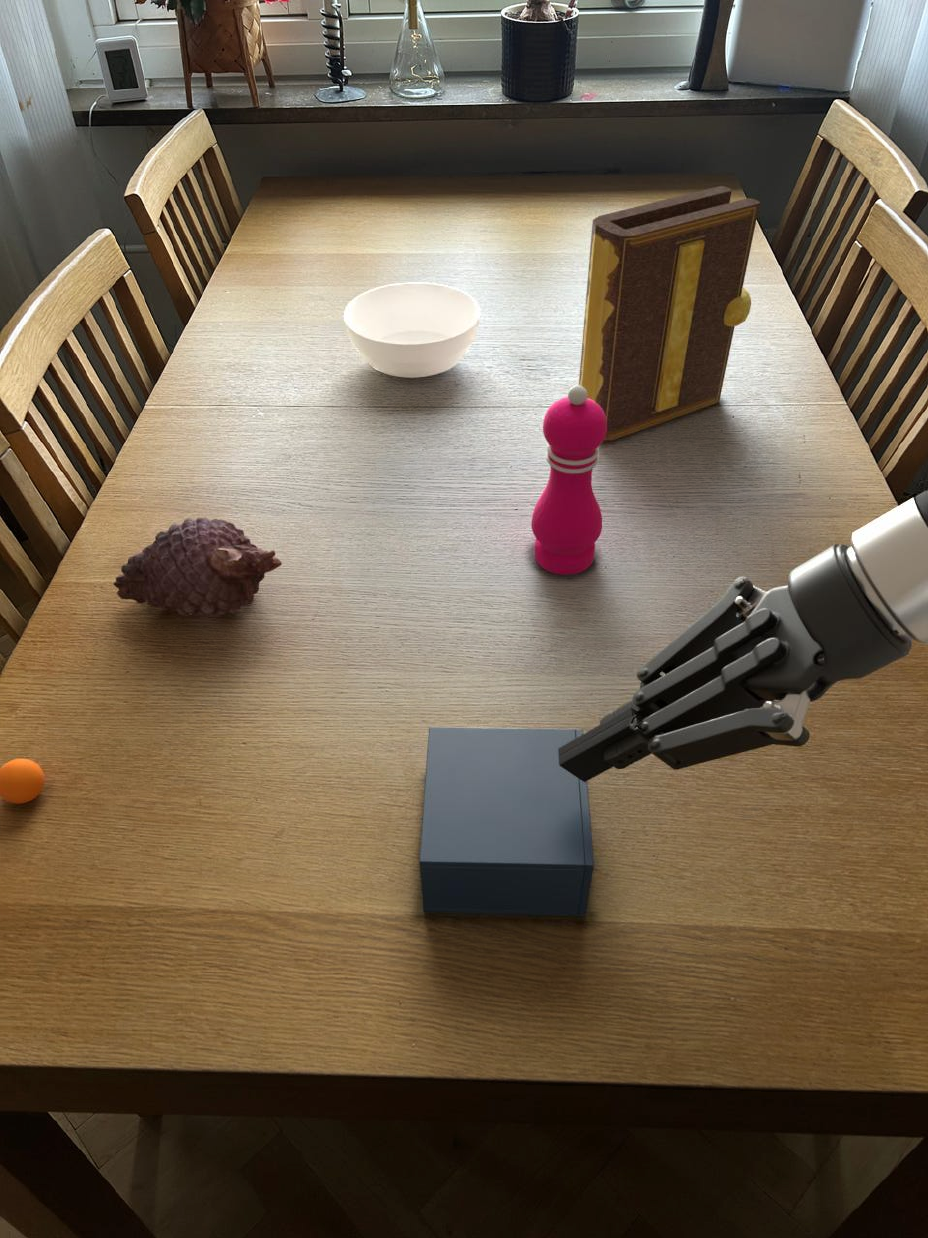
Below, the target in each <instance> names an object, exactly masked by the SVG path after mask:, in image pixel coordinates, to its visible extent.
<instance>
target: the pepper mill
mask: <svg viewBox="0 0 928 1238" xmlns="http://www.w3.org/2000/svg"><path fill="white" fill-rule="evenodd" d="M606 432H607V420H606V416H605V413H604V411H603V410H602V408H601V407H600V406H599V405H598V404H597V403H596V402H595V401H593V400H591V399H589V398H587V391H586V389H585V388H584V387H582V386H579V384H578V385H573V386H572V387H570V388H569V390H568V393H567V396H564V397H562V398H560V399H558V400H556V401H555V402H553V403H552V404H551V405H550V406H549V407H548V409H547V410H546V412H545V415H544V418H543V422H542V434H543V437H544V439H545V440H546V442H547V445H546V456H545V459H546V461H547V463H548V465H549V466H550V471H549V478H548V481H547V484H546V486H545V488H544V490H543V492H542V493H541V495H540V496H539V498H538V500H537V501H536V504H535V506H534V509H533V512H532V516H531V525H530V526H531V530H532V533H533V535H534V537H535V541H534V559H535V561H536V563H537V564H538V565H539V566H540V567H541V568H542V569H544V570H546V571H547V572H549V573H551V574H556V575H562V576H568V575H575V574H576V575H577V574H579V573H581V572H584V571H586V570H587V569H588V568H589V567H591V565H592V564H593V563H594V560H595V559H594V558H595V552H596V551H595V550H596V542H597V541H598V539H599V538H600V536H601V535H602V530H603V515H602V511H601V507H600V504H599V502H598V500H597V498H596V495H595V493H594V491H593V481H592V480H593V469H595V467H596V466H597V465H598V463H599V455H600V446H601V445H602V443H604V442H603V441H604V439H605V437H606Z"/></svg>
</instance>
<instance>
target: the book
mask: <svg viewBox="0 0 928 1238" xmlns="http://www.w3.org/2000/svg"><path fill="white" fill-rule="evenodd" d="M732 191H733V189H732V188H730V187H727V186H724V185H719V186H715V187H711V188H706V189H702V190H699V191H695V192H690V193H687V194H683V195H680V196H675V197H670V198H666V199H663V200H662V199H661V200H658V201H655V202H650V203H646V204H642V205H638V206H634V207H630V208H626V209H622V210H618V211H614V212H610V213H605V214H602V215H601V214H600V215H598V216H596V217H595V218H594V219H592V224H591V236H590V247H589V258H588V271H587V280H586V281H587V284H586V293H585V294H586V295H585V304H584V305H585V307H584V317H583V330H582V341H581V342H582V343H581V352H580V366H579V377H578V385H579V386H582V387H584V388H585V389H586V391H587V398H589V399H591V400H593V401H595V402H596V403H597V404H598V405H599V406H600V407H601V408H602V410H603V411H604V413H605V416H606V420H607V432H606V437H605V439H604V441H603V442H602V443H607V442H613V441H617V440H619V439H621V438H624V437H628V436H629V435H632V434H636V433H638V432H641V431H644V430H647V429H649V428H652V427H655V426H658V425H661V424H664V423H667V422H669V421H672V420H674V419H678V418H681V417H683V416H686V415H688V414H692V413H695V412H697V411H700V410H703V409H705V408H708V407H712V406H714V405H717V404H719V403H720V399H721V396H722V391H723V386H724V381H725V375H726V370H727V365H728V360H729V356H730V350H731V346H732V341H733V337H734V333H735V327H737V326H739V325H741V324H743V323H744V322H746V320H747V319H748V316H749V315H750V312H751V307H752V297H751V294H750V293H749V292H748V291H747V290H746V289H745V287H744V283H745V277H746V273H747V268H748V263H749V257H750V253H751V249H752V245H753V244H752V243H753V239H754V234H755V229H756V225H757V218H758V216H759V215H758V214H759V209H760V204H761V203H760V201H759V200H757V199H754V198H751V197H747V198H744V199H739V200H735V201H732V202H731V197H732Z"/></svg>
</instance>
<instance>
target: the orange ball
mask: <svg viewBox="0 0 928 1238" xmlns="http://www.w3.org/2000/svg"><path fill="white" fill-rule="evenodd" d="M44 784H45V774H44V771H43V769H42V767H41V766H40V765H39V764H38V763H36V762H35V761H33V760H31V759H27V758H16V759H12V760H10V761H8V762H6V763H4V764H3V765H2V766H1V768H0V798H2V799H3V800H5V801H6V802H7V803H8V802H9V803H10V804H24V803H29V802H30V801H32V800H34V799H35V798H37V796H38V795H39V794H40V793H41V792H42V790H43V788H44Z"/></svg>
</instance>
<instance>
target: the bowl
mask: <svg viewBox="0 0 928 1238" xmlns="http://www.w3.org/2000/svg"><path fill="white" fill-rule="evenodd" d="M480 320H481V307H480V305H479V304H478V302H477V300H476V299H475V298H474V297H473V296H471V295H470V294H468V293H467V292H466V291H463V290H461V289H458V288H456V287H452V286H449V285H445V284H438V283H431V282H402V283H401V282H400V283H393V284H387V285H383V286H379V287H376V288H373V289H369V290H368V291H365V292H363V293H361V294H359V295H358V296H356V297H355V298H353V299H352V300H351V301H350V302H349V303H348V304H347V306H346V307H345V309H344V313H343V321H344V325H345V328H346V332H347V334H348V338H349V341H350V343H351V345H353V347H354V348H355V349H356V350H357V352H358V354H359V356H360V357H361V358H362V359H363V360H364V361H365V362H366V363H367V364H368V365H370V367H372V368H373V369H374V370H376V371H378V372H381V374H385V375H388V376H393V377H397V378H398V377H399V378H424V377H430V376H436V375H438V374H441V373H445V372H446V371H448V370H450V369H452V368H453V367H455V366H456V365H458V364H459V363H460V361H461V360H462V359H463V358H464V357H465V356H466V354H467V353H468V352H469V350H470V347H471V345H472V344H473V343H474V341H475V340H476V337H477V334H478V331H479V326H480Z"/></svg>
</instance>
